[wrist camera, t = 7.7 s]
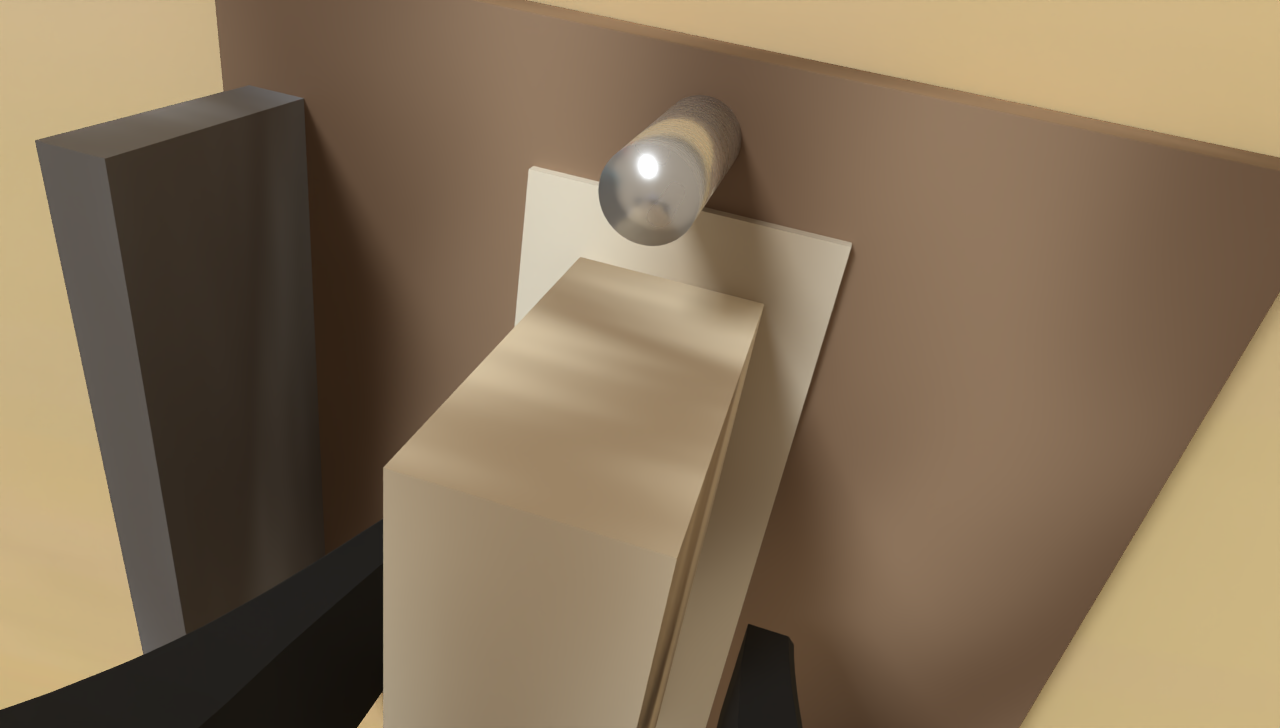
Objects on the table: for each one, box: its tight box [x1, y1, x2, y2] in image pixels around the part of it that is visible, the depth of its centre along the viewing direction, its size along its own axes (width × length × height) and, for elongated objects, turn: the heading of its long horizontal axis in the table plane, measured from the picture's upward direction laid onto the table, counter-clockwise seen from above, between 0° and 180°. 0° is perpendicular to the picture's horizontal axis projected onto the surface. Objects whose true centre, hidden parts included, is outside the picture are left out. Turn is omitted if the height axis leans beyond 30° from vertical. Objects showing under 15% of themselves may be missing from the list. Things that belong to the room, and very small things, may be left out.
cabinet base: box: [35, 0, 1280, 728], centre depth 14 cm, size 16×16×5 cm
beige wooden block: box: [383, 257, 764, 728], centre depth 13 cm, size 3×10×6 cm, turn 171°
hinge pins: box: [598, 95, 742, 246], centre depth 14 cm, size 1×15×3 cm, turn 171°
